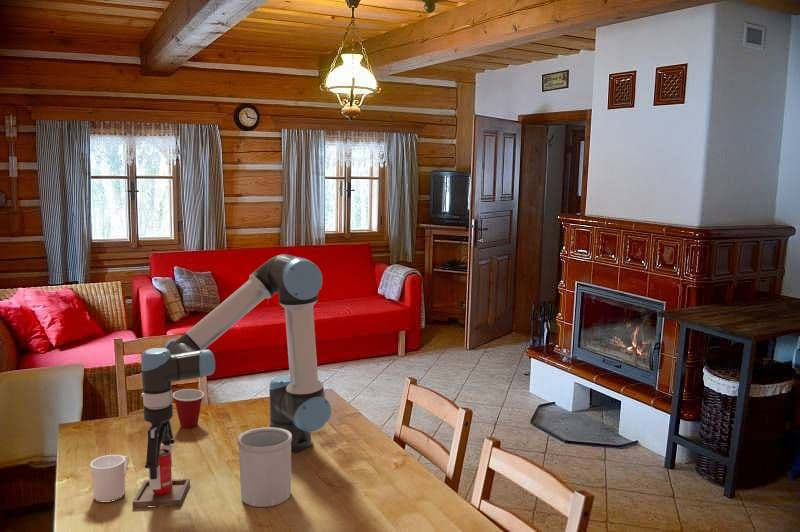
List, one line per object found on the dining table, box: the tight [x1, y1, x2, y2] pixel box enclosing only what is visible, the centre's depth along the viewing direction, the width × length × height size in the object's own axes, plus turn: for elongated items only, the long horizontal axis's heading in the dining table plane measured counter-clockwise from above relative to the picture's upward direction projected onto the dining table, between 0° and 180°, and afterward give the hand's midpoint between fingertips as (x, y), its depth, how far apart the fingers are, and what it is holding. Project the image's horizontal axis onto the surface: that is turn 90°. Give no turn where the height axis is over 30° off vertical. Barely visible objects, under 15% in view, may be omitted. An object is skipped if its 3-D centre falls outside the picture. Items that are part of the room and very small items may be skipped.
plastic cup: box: [172, 388, 205, 429], centre depth 241 cm, size 11×11×12 cm
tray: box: [131, 478, 191, 508], centre depth 191 cm, size 13×13×2 cm
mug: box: [90, 454, 130, 502], centre depth 191 cm, size 11×9×10 cm
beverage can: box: [153, 448, 173, 497], centre depth 191 cm, size 5×5×12 cm
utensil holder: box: [237, 426, 292, 508], centre depth 191 cm, size 15×15×18 cm
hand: (161, 477), depth 191 cm, fingers open, 13 cm apart
